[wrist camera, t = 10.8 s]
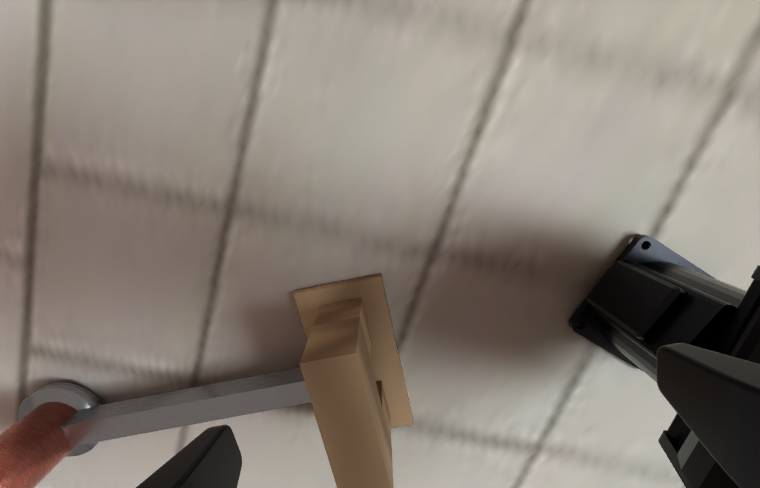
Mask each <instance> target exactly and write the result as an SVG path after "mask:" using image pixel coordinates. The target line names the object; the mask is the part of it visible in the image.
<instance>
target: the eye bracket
mask: <svg viewBox="0 0 760 488" xmlns="http://www.w3.org/2000/svg"><path fill="white" fill-rule="evenodd" d="M293 296H294V300H295V303H296V306H297V310H298V313H299V316H300V320H301V323H302V327H303V330H304V333H305V337H306V340H307V344H306V346H305V349H304V352H303V355H302V357H301V360H300V363H299V365H300V368H301V371H302V374H303V378H304V381H305V384H306V387H307V391H308V394H309V397H310V400H311V404H312V407H313V410H314V413H315V417H316V420H317V423H318V426H319V430H320V433H321V436H322V439H323V443H324V446H325V449H326V452H327V456H328V459H329V462H330V465H331V469H332V472H333V475H334V478H335V482H336V485H337V488H393V468H392V448H391V428H395V427H401V426H406V425H412V424H413V417H412V413H411V408H410V404H409V399H408V395H407V390H406V386H405V381H404V377H403V372H402V368H401V363H400V358H399V354H398V349H397V345H396V340H395V336H394V331H393V327H392V322H391V318H390V313H389V309H388V304H387V299H386V295H385V290H384V286H383V281H382V277H381V274H376V275H371V276H366V277H361V278H356V279H351V280H346V281H341V282H336V283H331V284H326V285H321V286H316V287H311V288H306V289H301V290H296V291H294V293H293Z"/></svg>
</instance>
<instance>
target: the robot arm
mask: <svg viewBox="0 0 760 488" xmlns="http://www.w3.org/2000/svg"><path fill="white" fill-rule="evenodd" d="M644 241H645V245H644V246H643V247H642V248H641V245H642V243H643V242H644ZM751 278H753V279H754V280H753V282H752V283H751V285H750V287H749V289H748V290H747V291H745V290H742V289H739V288H737V287H734V286H732V285H729V284H726V283H724V282H721V281H719V280H716V279H715V278H713V277H712V276H710V275H709V274H707V273H706V272H704V271H703V270H701V269H700V268H698V267H696V266H695V265H693V264H692V263H690V262H689V261H687V260H686V259H684V258H683V257H681V256H680V255H678V254H677V253H675V252H673V251H672V250H670V249H669V248H667V247H666V246H664V245H663V244H661V243H660V242H658V241H657V240H655V239H654V238H652V237H649V236H646V235H639V236H636V237H635V238H634V239H633V240H632V242H631V243H630V244H629V245H628V247H627V248H626V249H625V250H624V252H623V253H622V254H621V255H620V257H619V258H618V259H617V260H616V262H615V263H614V264H613V265H612V267H611V268H610V269H609V270H608V272H607V273H606V274H605V275H604V277H603V278H602V279H601V280H600V282H599V283H598V284H597V285H596V287H595V288H594V289H593V290H592V292H591V293H590V294H589V295H588V297H587V298H586V299H585V300H584V302H583V303H582V304H581V305H580V307H579V308H578V309H577V310H576V312H575V313H574V314H573V315H572V317H571V318H570V320H569V327H570V328H572V329H573V330H574V331H575V332H576V333H578V334H580V335H581V336H583V337H585V338H586V339H588V340H590V341H592V342H593V343H595V344H597V345H599V346H600V347H602V348H604V349H605V350H607V351H609V352H611V353H612V354H614V355H616V356H618V357H619V358H621V359H623V360H624V361H626V362H628V363H630V364H631V365H633V366H635V367H637V368H638V369H640V370H642V371H644V372H645V373H646V374H647V375H649V376H650V377H651V378H652V379H653V380H655V381H656V382H657V384H658V387H659V389H660V391H661V393H662V394H663V396H664V397H665V398H666V399H667V401H668V402H669V403H670V404H671V406H672V407H673V408H674V409H675V411H676V412H677V414H676V416H675V418H674V420H673V421H672V423H671V425H670V427H669V428H668V430H667V431H665V430H664V431H663V433H662V435H661V436H660V438H659V440H658V441H659V443H660V445H661V447H662V448H663V450H664V452H665V453H666V455H667V457H668V458H669V460H670V462H671V463H672V465H673V467H674V468H675V470H676V472H677V473H678V475H679V477H680V478H681V480H682V482H683V483H684V485H685V487H686V488H760V266H759V265H758V266H757V268H756V270H755V271H754V273H753V275H752V277H751ZM580 321H581V324H580V325H579V326H576V325H577V323H578V322H580ZM241 466H242V457H241V453H240V450H239V447H238V445H237V442H236V440H235V437H234V434H233V432H232V430H231V428H230V427H229V426H228V425H221V426H215V427H210V428H208V429H206V430H205V431H204V432H203V433H201V434H200V435H199V436H198V437H197V438H195V439H194V440H193V441H192V442H191V443H189V444H188V445H187V446H186V447H184V448H183V449H182V450H181V451H180V452H178V453H177V454H176V455H175V456H174V457H172V458H171V459H170V460H169V461H168V462H166V463H165V464H164V465H163V466H162V467H160V468H159V469H158V470H157V471H156V472H154V473H153V474H152V475H151V476H150V477H148V478H147V479H146V480H145V481H143V482H142V483H141V484H140V485H139V486H137V487H136V488H237V484H238V480H239V476H240V471H241Z"/></svg>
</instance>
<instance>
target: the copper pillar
mask: <svg viewBox="0 0 760 488" xmlns="http://www.w3.org/2000/svg"><path fill="white" fill-rule="evenodd" d="M305 403H311V400H310V397H309V394H308V391H307V387H306V384H305V381H304V378H303V374H302V371H301V368H300V367H298V368H293V369H288V370H283V371H277V372H272V373H267V374H261V375H256V376H251V377H246V378H240V379H235V380H230V381H224V382H219V383H214V384H209V385H203V386H198V387H193V388H187V389H182V390H177V391H171V392H166V393H161V394H156V395H150V396H145V397H140V398H134V399H129V400H124V401H119V402H113V403H108V404H103V403H102V402H101V401H100V400H99V399H98V397H97V396H95V395H94V394H93V393H92V392H90V391H89V390H87V389H85V388H83V387H81V386H78V385H75V384H71V383H65V382H56V383H50V384H47V385H44V386H42V387H40V388H39V389H37V390H36V391H35V392H33V393H32V394H30V395H29V396H28V397H26V398H25V399H24V400H23V401H22V403H21V405H20V407H19V409H18V422H17V423H15V424H14V425H13V426H11V427H10V428H9V429H7V430H6V431H5V432H3V433H2V434H1V435H0V488H34V487H35V486H36V485H37V484H38V483H39V482H40V481H41V480H42V479H43V478H44V477H45V476H46V475H47V474H48V473H49V472H50V471H51V470H52V469H53V468H54V467H55V466H56V465H57V464H58V463H59V462H60V461H61V460H62V459H63V458H64V457H65V456H77V455H81V454H84V453H86V452H88V451H90V450H91V449H92V448H93V447H94V446H95V445H96V444H97V443H98V442H99V441H104V440H110V439H115V438H120V437H126V436H131V435H137V434H142V433H148V432H153V431H158V430H164V429H169V428H175V427H180V426H186V425H191V424H197V423H202V422H207V421H213V420H218V419H224V418H229V417H235V416H240V415H245V414H251V413H256V412H262V411H267V410H273V409H278V408H283V407H289V406H294V405H300V404H305Z"/></svg>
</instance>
